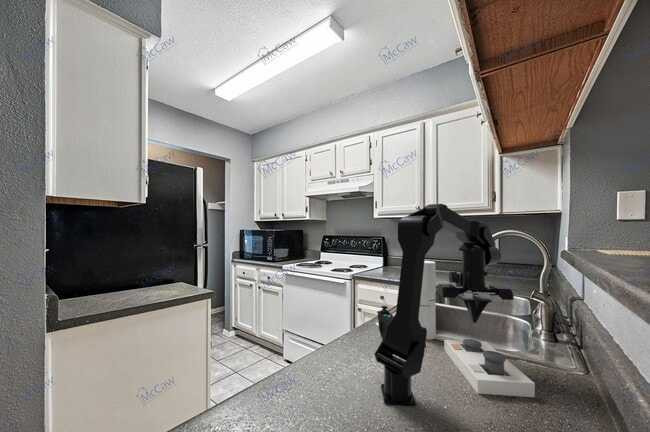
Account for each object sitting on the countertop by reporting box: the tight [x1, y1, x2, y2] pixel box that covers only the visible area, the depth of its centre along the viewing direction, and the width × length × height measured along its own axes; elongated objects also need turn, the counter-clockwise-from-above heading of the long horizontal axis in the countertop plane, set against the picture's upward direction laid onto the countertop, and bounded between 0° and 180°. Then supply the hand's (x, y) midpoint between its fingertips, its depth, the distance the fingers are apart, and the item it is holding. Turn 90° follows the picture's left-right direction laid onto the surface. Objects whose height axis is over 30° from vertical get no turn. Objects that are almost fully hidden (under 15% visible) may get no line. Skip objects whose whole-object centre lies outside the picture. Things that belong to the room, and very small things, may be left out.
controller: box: [376, 305, 394, 340], centre depth 91 cm, size 4×12×10 cm, turn 8°
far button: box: [462, 338, 482, 352], centre depth 79 cm, size 5×5×4 cm
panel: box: [443, 339, 536, 398], centre depth 73 cm, size 22×12×3 cm, turn 175°
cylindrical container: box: [419, 260, 437, 341], centre depth 96 cm, size 7×7×25 cm
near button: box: [483, 351, 507, 376], centre depth 67 cm, size 5×5×4 cm
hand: (473, 322), depth 79 cm, fingers closed
